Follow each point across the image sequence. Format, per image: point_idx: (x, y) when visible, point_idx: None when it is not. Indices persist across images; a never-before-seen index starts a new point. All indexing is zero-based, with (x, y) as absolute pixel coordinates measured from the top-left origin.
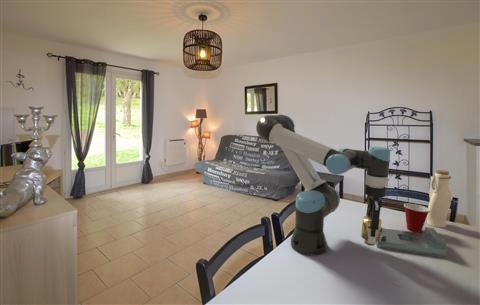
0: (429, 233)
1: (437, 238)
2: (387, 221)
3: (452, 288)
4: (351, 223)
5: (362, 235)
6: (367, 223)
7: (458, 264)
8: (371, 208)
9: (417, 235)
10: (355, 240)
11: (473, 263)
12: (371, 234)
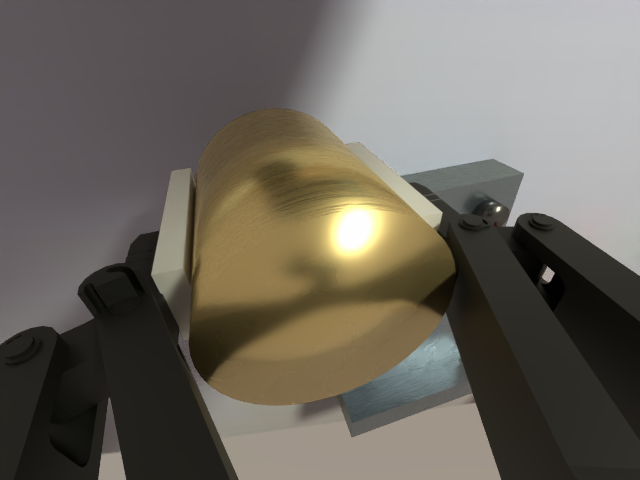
0: (431, 389)
1: (385, 416)
2: (599, 220)
3: (111, 421)
4: (628, 18)
5: (235, 126)
6: (200, 272)
7: (300, 406)
8: (537, 467)
9: (440, 340)
10: (376, 45)
11: (323, 421)
12: (130, 255)
